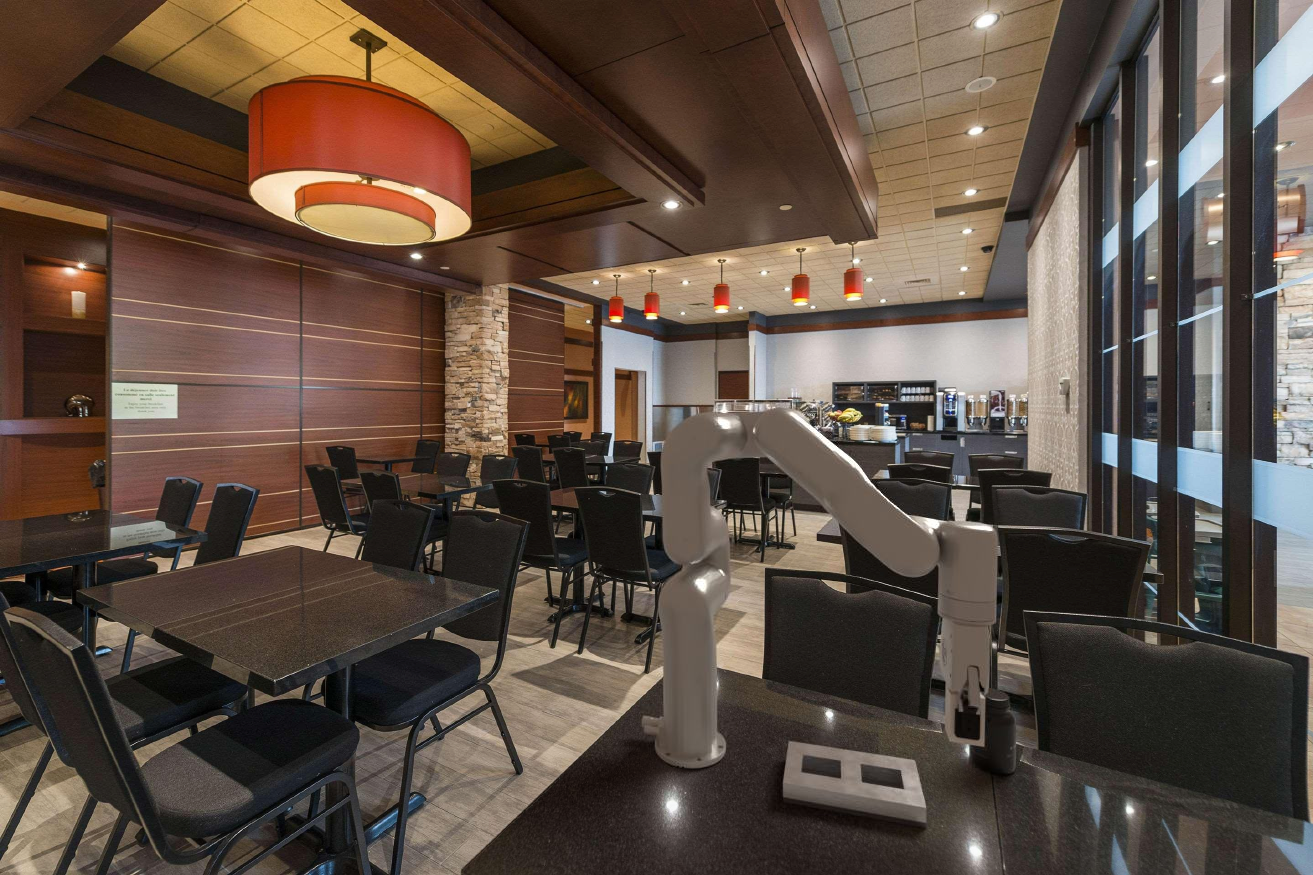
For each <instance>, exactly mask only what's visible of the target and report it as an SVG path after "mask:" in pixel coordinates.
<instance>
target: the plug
mask: <svg viewBox="0 0 1313 875" xmlns="http://www.w3.org/2000/svg"><path fill="white" fill-rule="evenodd" d="M963 688H966V689H968V686H963ZM964 698H968V695H963V700H964ZM980 703H981V706H980V713H981V717H980V740H970V739H964V738H958V737H956V736H955V733H954V731H955V708H957V691H955V692H952V691H951V690H950V689H949V688H948V686H947V684H946V683H945V708H944V711H945V712H944V713H945V714H944V730H945V732H946V735H947V738H948V741H949V742H950V743H955V744H956V743H958V744H963V745H964V744H965V745H968V746H969V745H976V746H982V747H984V737H985V697H984V696H983V695H982V694H981V693H980ZM957 709H958V708H957Z"/></svg>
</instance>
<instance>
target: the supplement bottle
mask: <svg viewBox="0 0 1313 875" xmlns="http://www.w3.org/2000/svg"><path fill="white" fill-rule="evenodd" d="M984 697H985V737H984V747H982V746H976V745H969V744H968V750H969V751H968V753H969V754H968V755H969V759H970V761H971V762H972V763H973V765H974V766H976V767H978V769H981V770H983V771H985V772H988V773H990V774H994V775H1002V776H1003V775H1009V774H1012V773H1014V771H1015V769H1016V764H1017V763H1016V759H1017V719H1016V717H1015V715H1014V714H1013V713H1012V712H1011V711H1010V708H1011V704H1010V696H1009V695H1008V694H1007V693H1005V692H1004V691H1002V690H999V689H997V688H996V689H995V688H991V687H989V688H988V693H987V694H986V695H984Z"/></svg>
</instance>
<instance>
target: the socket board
mask: <svg viewBox="0 0 1313 875" xmlns="http://www.w3.org/2000/svg"><path fill="white" fill-rule="evenodd" d="M787 745H788V746H787V752H786V758H785V766H784V771H783V772H784V774H783V780H782V803H786V804H792V805H797V806H802V807H803V806H804V807H807V808H814V809H819V810H824V811H829V812H834V813H835V812H836V813H841V814H847V815H852V816H856V817H857V816H858V817H862V818H867V819H873V820H878V821H885V822H890V823H894V824H895V823H896V824H900V825H906V826H911V827H916V828H922V829H927V804H926V800H925V797H924V796H925V795H924V793H923V788H922V784H921V780H920V775H919V772H918V767H917V763H916V759H909V758H903V757H898V756H897V757H896V756H889V755H884V754H877V753H870V752H864V751H857V750H851V749H850V750H849V749H843V748H837V747H831V746H824V745H819V744H812V743H805V742H798V741H791V740H788V744H787Z"/></svg>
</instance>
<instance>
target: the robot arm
mask: <svg viewBox="0 0 1313 875" xmlns="http://www.w3.org/2000/svg"><path fill="white" fill-rule="evenodd" d="M745 458H752V459H753V458H767V459H769V460H770V461H771V462H772V463H773V464H775V465H776V466H777V467H778V468H779V469H780V470H781V471H782V472H784V473H785V474H786V475H787V476H788V477H790V478H791V480H793V481H794V482H795V483H796V484H797V485H799V486H800V487H801V488H802V489H804V490H805V491H806V492H808V494H809V495H811V496H812V497H813V498H814V499H815V500H816V501H818V502H819V503H820V505H821V506H822V507H823V509H824V510H826V512H827V513H829V514H830V515H831V517H833V519H834V520H835V521H836V522H838V523H839V525H840V526H841V527H842V528H843V529H844V530H845V531H846V532H847V533H848V534H849V535H850V536H851V537H852V538H853V539H854V540H855V541H856V542H858V543H859V544H860V545H861V546H862V547H863V548H865V549H866V550H867V551H868V552H869V553H871V554H872V555H873V556H874V558H876V559H878V560H879V561H880V562H881V563H882V564H883V565H885V567H887V568H889V569H890V570H892V571H893V572H895V573H896V574H897V575H898V574H899V575H900V576H904V577H909V578H919V577H922V576H926V575H927V574H929V573H931V572H932V571H933V570H934V569H935V567H938V582H937V583H938V586H937V587H938V590H937V614H938V616H939V617H941V618H942V621H941V628H940V630H941V632H940V633H941V634H940V646H939V662H938V663H939V664H938V665H939V670H940V672H941V674H942V676H943V679H944V681H945V685H946V684H947V686H948V688H949V689H950V690H951V691H952V692H955V691H957V708H958V709H957V708H955V731H954V733H955V736H956V737H958V738H964V739H970V740H980V717H981V713H980V706H981V703H980V693H981V694H982V695H983V696H984V695H986V694H987V693H988V688H990V685H989V684H990V638H989V637H990V633H989V626H991V625H994V624H996V623H997V596H998V595H997V593H998V592H997V589H998V587H997V586H998V580H997V579H998V553H999V552H998V548H999V546H998V545H999V544H998V543H999V538H998V537H999V536H998V533H997V531H996V529H995V528H994V527H992V526H991V525H989V524H986V523H982V522H976V521H969V520H968V521H966V520H955V521H953V520H952V521H946V520H939V519H935V518H929V517H924V516H919V515H911V514H910V515H909V514H907V513H905V512H904V511H903V510H901V509H900V508H899V507H897V505H895V504H894V503H893V502H892V501H890V500H889V499H888V498H887V497H886V496H885V495H884V494H883V493H881V491H880V490H879V489H878V488H877V487H876V486H875V485H874V484H873V483H872V482H871V481H870V480H869V478H868V477H867V475H866V473H865V471H863V469H862V468H861V466H860V465H859V464H858V463H857V462H856V461H855V460H854V459H853V458H852V457H851V456H849V455H848V454H847V453H845V451H843V450H842V449H841V448H839V447H837V446H836V445H835V444H834V443H833V442H831V441H830V440H829V439H827V438H826V437H825V436H824V434H823V435H822V433H820V432H819V431H818V430H817V429H816V428H815V427H813V426H812V425H811V423H810V421H809V419H808V418H807V417H806V415H804V413H802V412H800V411H799V410H797V409H794V408H790V407H773V408H771V409H768V410H763V411H761V410H760V411H746V412H731V413H730V412H716V411H715V412H714V411H712V412H711V411H710V412H702V413H701V412H700V413H697V414H694V415H692V416H689V417H687V418H685V419H684V420H681V422H679V423H678V424H677V425H675V426H674V428H672V430H671V431H670V432H669V433H668V434H667V436H666V438H665V441H664V443H663V445H662V449H661V454H660V474H661V477H660V478H661V510H662V511H661V513H662V541H663V548H664V552H665V553H666V555H667V557H668V558H669V559H670V560H671V561H672V562H673V563H675V564H677V565H680V566H682V569H681V570H680V571H679V572H677V573H676V574H674V575H673V576H672V577H671V578H669V579H668V580H667V582H665V583H664V586H663V587H662V588H661V591H660V593H659V597H658V602H657V603H658V604H657V605H658V617H659V620H660V628H661V638H662V663H663V664H662V666H663V667H662V679H663V680H662V681H663V682H662V683H663V686H662V687H663V690H662V692H663V698H662V699H663V702H662V703H663V706H662V707H663V716H659V718H658V717H653V716H647V715H643V716H642V719H641V727H642V728H644V729H643V733H644V734H645V735H654V736H655V741H654V750H655V753H656V754H657V756H658V757H659V758H660V759H661V760H662V761H664V762H665V763H667V764H669V765H671V766H674V767H677V766H679V767H678V768H682V767H684V768H683V769H702V768H707V767H710V766H712V765H715V764H716V763H718V762H719V761H721V760H722V759H723V757H725V754H726V752H727V743H726V742H727V741H726V739H725V737H724V736H723V735H722V734H721V733H720V732H718V661H717V660H718V659H717V657H718V655H717V653H718V652H717V639H716V635H715V634H716V633H715V628H714V616H715V614H716V613H717V612H718V610H719V609H720V608H721V607H722V606H723V605H724V604H725V603H726V601H727V600H728V598H729V595H730V592H731V581H732V577H731V574H732V573H731V546H730V530H729V527H728V523H727V520H726V519H725V517H724V515H723V514H722V513H721V512H720V510H719V509H717V508H716V507H714V506H712V505H711V486H710V480H709V476H708V468H709V467H708V466H709V465H710V464H711V463H714V462H717V461H718V462H719V461H724V460H729V459H730V460H731V459H745ZM963 686H968V689H966V688H963ZM963 695H968V698H964V700H963Z"/></svg>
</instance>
